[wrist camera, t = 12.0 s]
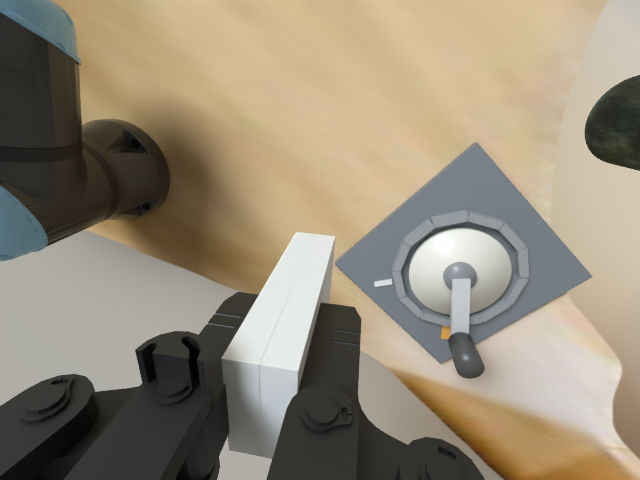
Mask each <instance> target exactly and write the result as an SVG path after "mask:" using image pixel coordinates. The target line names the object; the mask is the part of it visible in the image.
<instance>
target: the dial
mask: <svg viewBox="0 0 640 480" xmlns="http://www.w3.org/2000/svg"><path fill="white" fill-rule="evenodd" d="M511 273H512V266H511V261H510V258H509V255H508V253H507V251H506V250H505V249H504V247H503V246H502V245H501V244H500V243H499V242H498V241H497V240H496V239H495V238H494V237H493V236H491V235H490V234H488V233H486V232H484V231H481V230H479V229H475V228H469V227H455V228H449V229H445V230H442V231H440V232H437V233H435V234H433V235H431V236H430V237H428V238H427V239H426V240H424V241H423V242H422V243H421V244H420V245H419V246H418V247H417V249H416V250H415V252H414V253H413V255H412V257H411V260H410V263H409V268H408V275H409V281H410V285H411V288H412V291H413V293H414V294H415V296H416V297H417V299H418V300H419V301H420V302H421V303H422V304H424V305H425V306H426V307H428V308H429V309H432V310H434V311H436V312H439V313H443V314H448V315H450V337H449V339H448V345H449V348H450V351H451V354H452V358H453V361H454V364H455V367H456V370H457V373H458V374H459V375H460V376H462V377H464V378H476V377H478V376H480V375H481V374H482V373H483V372H484V365H483V363H482V360H481V358H480V356H479V353H478V351H477V349H476V346H475V344H474V342H473V339H472V337H471V336H470V335H469V314H471V313H474V312H477V311H480V310H482V309H484V308H486V307H488V306H490V305H491V304H493V303H494V302H495V301H496V300H497V299H499V297H500V296H501V295H502V294H503V293H504V291H505V290H506V288H507V286H508V284H509V281H510V279H511Z"/></svg>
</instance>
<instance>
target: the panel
mask: <svg viewBox="0 0 640 480" xmlns="http://www.w3.org/2000/svg"><path fill="white" fill-rule="evenodd" d="M455 227H469V228H475V229H479V230H481V231H484V232H486V233H488V234H490V235H491V236H493V237H494V238H495V239H496V240H497V241H498V242H499V243H500V244H501V245H502V246H503V247H504V249H505V250H506V251H507V253H508V255H509V258H510V261H511V266H512V273H511V279H510V281H509V284H508V286H507V288H506V290H505V291H504V293H503V294H502V295H501V296H500V297H499V299H497V300H496V301H495V302H494V303H493V304H491V305H490V306H488V307H486V308H484V309H482V310H480V311H477V312H474V313H471V314H469V335H470V336H471V337H472V339H473V342H474V344H476V343H478V342H479V341H481V340H483V339H485V338H486V337H488V336H490V335H492V334H493V333H495V332H497V331H499V330H500V329H502V328H504V327H506V326H507V325H509V324H511V323H513V322H514V321H516V320H518V319H520V318H521V317H523V316H525V315H527V314H528V313H530V312H532V311H534V310H535V309H537V308H539V307H541V306H542V305H544V304H546V303H548V302H549V301H551V300H553V299H555V298H556V297H558V296H560V295H562V294H563V293H565V292H567V291H568V290H570V289H572V288H574V287H575V286H577V285H579V284H581V283H582V282H584V281H586V280H588V279H589V278H591V277H592V276H591V274H590V273H589V272H588V271H587V270H586V269H585V268H584V266H583V265H582V264H581V263H580V262H579V261H578V259H577V258H576V257H575V256H574V255H573V253H572V252H571V251H570V250H569V249H568V248H567V246H566V245H565V244H564V243H563V242H562V241H561V240H560V238H559V237H558V236H557V235H556V234H555V233H554V231H553V230H552V229H551V228H550V227H549V226H548V224H547V223H546V222H545V221H544V220H543V219H542V217H541V216H540V215H539V214H538V213H537V212H536V210H535V209H534V208H533V207H532V206H531V205H530V203H529V202H528V201H527V200H526V199H525V198H524V196H523V195H522V194H521V193H520V192H519V191H518V190H517V188H516V187H515V186H514V185H513V184H512V183H511V181H510V180H509V179H508V178H507V177H506V176H505V174H504V173H503V172H502V171H501V170H500V169H499V167H498V166H497V165H496V164H495V163H494V162H493V160H492V159H491V158H490V157H489V156H488V155H487V153H486V152H485V151H484V150H483V149H482V148H481V147H480V145H479V144H478V143H476V142H475V143H473V144H472V145H471V146H470V147H469V148H468V149H466V150H465V151H464V152H463V153H462V154H460V155H459V156H458V157H457V158H456V159H455V160H453V161H452V162H451V163H450V164H449V165H448V166H446V167H445V168H444V169H443V170H442V171H441V172H439V173H438V174H437V175H436V176H435V177H434V178H432V179H431V180H430V181H429V182H428V183H427V184H425V185H424V186H423V187H422V188H421V189H419V190H418V191H417V192H416V193H415V194H414V195H412V196H411V197H410V198H409V199H408V200H407V201H405V202H404V203H403V204H402V205H401V206H400V207H398V208H397V209H396V210H395V211H394V212H393V213H391V214H390V215H389V216H388V217H387V218H386V219H384V220H383V221H382V222H381V223H380V224H378V225H377V226H376V227H375V228H374V229H373V230H371V231H370V232H369V233H368V234H367V235H366V236H364V237H363V238H362V239H361V240H360V241H359V242H357V243H356V244H355V245H354V246H353V247H352V248H350V249H349V250H348V251H347V252H346V253H344V254H343V255H342V256H341V257H340V258H339V259H337V260H336V261H335V265H336V266H337V267H338V268H339V269H340V270H341V271H342V272H343V273H344V274H346V275H347V276H348V277H349V278H350V279H351V280H352V281H353V282H354V283H355V284H356V285H357V286H358V287H359V288H360V289H362V290H363V291H364V292H365V293H366V294H367V295H368V296H369V297H370V298H371V299H372V300H373V301H374V302H375V303H376V304H378V305H379V306H380V307H381V308H382V309H383V310H384V311H385V312H386V313H387V314H388V315H389V316H390V317H391V318H393V319H394V320H395V321H396V322H397V323H398V324H399V325H400V326H401V327H402V328H403V329H404V330H405V331H406V332H407V333H409V334H410V335H411V336H412V337H413V338H414V339H415V340H416V341H417V342H418V343H419V344H420V345H421V346H422V347H423V348H425V349H426V350H427V351H428V352H429V353H430V354H431V355H432V356H433V357H434V358H435V359H436V360H437V361H438V362H439V363H443V362H444V361H446V360H448V359H450V358H451V357H452V354H451V351H450V348H449V345H448V339H449V337H450V315H448V314H443V313H439V312H436V311H434V310H432V309H429V308H428V307H426V306H425V305H424V304H422V303H421V302H420V301H419V300H418V299H417V297H416V296H415V294H414V293H413V291H412V288H411V285H410V281H409V275H408V268H409V263H410V260H411V257H412V255H413V253H414V252H415V250H416V249H417V247H418V246H419V245H420V244H421V243H422V242H423V241H424V240H426V239H427V238H428V237H430V236H431V235H433V234H435V233H437V232H440V231H442V230H445V229H449V228H455Z"/></svg>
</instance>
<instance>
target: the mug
mask: <svg viewBox="0 0 640 480" xmlns="http://www.w3.org/2000/svg"><path fill="white" fill-rule="evenodd" d="M585 140H586V144H587V146H588V148H589V150H590V151H591V153H592V154H593V155H594V156H596V157H597V158H598V159H600V160H602V161H604V162H607V163H610V164H615V165H619V166H623V167H627V168H631V169H635V170H639V171H640V75H638V76H635V77H632V78H629V79H627V80H624V81H622V82H621V83H619V84H617V85H616V86H614V87H613V88H611V89H610V90H609V91H607V92H606V93H605V94H604V95H603V96H602V97H601V98H600V99H599V100H598V102H597V103H596V104H595V106H594V107H593V109H592V110H591V112H590V114H589V116H588V119H587V122H586V126H585Z"/></svg>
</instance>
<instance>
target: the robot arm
mask: <svg viewBox="0 0 640 480" xmlns="http://www.w3.org/2000/svg"><path fill="white" fill-rule="evenodd" d="M80 65H81V61H80V58H79V57H78V53H77V43H76V33H75V27H74V24H73V21H72V19H71V18H70V16H69V15H68V14H67V13H66V11H65V10H64V9H62V8H61V7H60V6H59V5H57V4H56V3H54V2H53V1H51V0H0V261H6V260H11V259H14V258H16V257H19V256H22V255H25V254H28V253H31V252H36V251H40V250H42V249H44V248H45V247H47V246H49V245H51V244H53V243H56V242H58V241H60V240H62V239H64V238H67V237H69V236H71V235H73V234H75V233H78V232H80V231H82V230H84V229H87V228H89V227H91V226H93V225H95V224H98V223H100V222H102V221H105V220H122V219H135V218H139V217H142V216H145V215H147V214H149V213H151V212H153V211H155V210H156V209H157V208H159V207H160V206H161V204H162V203H163V202H164V200H165V198H166V196H167V193H168V188H169V174H168V169H167V165H166V162H165V159H164V157H163V155H162V153H161V151H160V150H159V148H158V147H157V145H156V144H155V143H154V141H153V140H152V139H151V138H150V137H149V136H148V135H147V134H146V133H145V132H143V131H142V130H141V129H139V128H138V127H136V126H134V125H133V124H130V123H128V122H125V121H122V120H117V119H104V120H94V121H91V122H88V123H85V124H83V125H82V122H81V100H80V79H79V66H80ZM334 244H335V236H327V235H318V234H309V233H301V232H296V233H295V235H294V237H293V238H292V240H291V242H290V243H289V245H288V247H287V248H286V250H285V252H284V253H283V255H282V257H281V258H280V260H279V262H278V264H277V265H276V267H275V269H274V270H273V272H272V274H271V275H270V277H269V279H268V280H267V282H266V284H265V286H264V287H263V289H262V291H261V292H260V294H259V295H256V294H249V293H242V292H237V293H236V294H234V295H233V296H231V297H230V298H228V299H226V300H225V301H224V302H223V303H222V305H221V306H220V307H219V309H218V310H217V311H216V314H215V315H213V317H212V318H211V319H210V321H209V322H208V325H206V326H205V327H204V329H203V330H202V331H201V333H200V334H199V335H197V334H194V333H191V332H183V331H180V332H179V331H174V332H170V333H166V334H161V335H159V336H156V337H154V338H152V339H150V340H148V341H146V342H145V343H143V344H142V345H141V346H140V347H138V348H137V349H136V350H135V351H136V356H137V360H138V364H139V369H140V373H141V378H142V382H143V383H142V385H141V386H139V387H133V388H127V389H118V390H109V391H100V392H95V390H94V388H93V384H92V382H91V381H90V380H88V378H87V377H85V376H81V375H77V374H70V375H60V376H57V377H54V378H51V379H47V380H44V381H41V382H40V383H38V384H36V385H34V386H32V387H30V388H28V389H26V390H25V391H23V392H22V393H20V394H18V395H17V396H15V397H14V398H12V399H11V400H9V401H7V402H6V403H4V404H3V405H1V406H0V480H217V477H218V473H219V468H220V463H219V455H220V452H221V450H222V448H223V445H224V443H225V441H226V439H227V436H228V441H229V450H232V451H237V452H242V453H247V454H252V455H257V456H262V457H267V458H272V463H271V466H270V470H269V473H268V476H267V480H485V479H484V477H483V476H482V474H481V473H480V471H479V470H478V468H477V467H476V465H475V464H474V463H473V461H472V460H471V459H470V458H469V457H468V456H467V455H465V454H464V453H463V452H462V451H461V450H460V449H459V448H457V447H456V446H454V445H452V444H450V443H448V442H446V441H443V440H441V439H436V438H429V437H425V438H421V439H417V440H413V441H412V442H411V443H410V444H409V445H407V444H405V443H403V442H401V441H399V440H397V439H395V438H393V437H391V436H389V435H388V434H386V433H384V432H383V431H381V430H380V429H378V428H376V427H375V426H374V425H373V424H372V423H371V422H370V421H369V420H368V419H367V417H366V416H365V414H364V413H363V411H362V409H361V406H360V404H359V400H358V378H359V357H360V336H361V335H360V334H361V318H360V316H359V314H358V313H357V311H356V309H355V307H349V306H342V305H335V304H328V303H329V298H330V289H331V277H332V266H333V255H334Z"/></svg>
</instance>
